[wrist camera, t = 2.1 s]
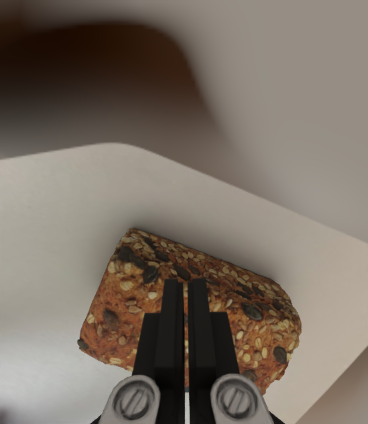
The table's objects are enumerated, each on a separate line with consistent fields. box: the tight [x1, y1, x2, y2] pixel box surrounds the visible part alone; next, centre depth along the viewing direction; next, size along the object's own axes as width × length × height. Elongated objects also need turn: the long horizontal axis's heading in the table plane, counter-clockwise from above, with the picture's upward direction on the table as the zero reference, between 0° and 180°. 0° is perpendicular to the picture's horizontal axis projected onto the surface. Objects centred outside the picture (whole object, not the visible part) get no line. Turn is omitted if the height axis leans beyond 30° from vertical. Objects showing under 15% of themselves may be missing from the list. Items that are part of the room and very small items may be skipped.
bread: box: [77, 228, 301, 396], centre depth 26 cm, size 19×11×10 cm, turn 66°
